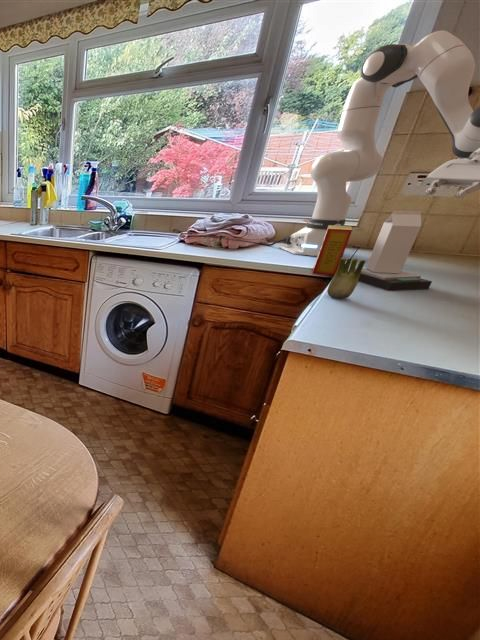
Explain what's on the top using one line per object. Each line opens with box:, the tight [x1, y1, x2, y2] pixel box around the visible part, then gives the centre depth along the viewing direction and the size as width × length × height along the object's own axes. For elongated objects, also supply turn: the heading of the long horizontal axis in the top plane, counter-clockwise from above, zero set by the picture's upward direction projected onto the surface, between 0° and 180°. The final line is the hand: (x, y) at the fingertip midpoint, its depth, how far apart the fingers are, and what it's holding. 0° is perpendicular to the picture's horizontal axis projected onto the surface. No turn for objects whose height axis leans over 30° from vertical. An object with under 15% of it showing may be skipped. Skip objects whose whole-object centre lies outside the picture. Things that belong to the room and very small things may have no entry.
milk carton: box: [365, 210, 423, 274], centre depth 141 cm, size 7×7×19 cm
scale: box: [354, 267, 433, 291], centre depth 143 cm, size 16×13×3 cm
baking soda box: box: [312, 225, 353, 277], centre depth 155 cm, size 10×6×16 cm
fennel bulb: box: [327, 257, 367, 300], centre depth 129 cm, size 6×5×12 cm
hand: (442, 194), depth 133 cm, fingers open, 8 cm apart
